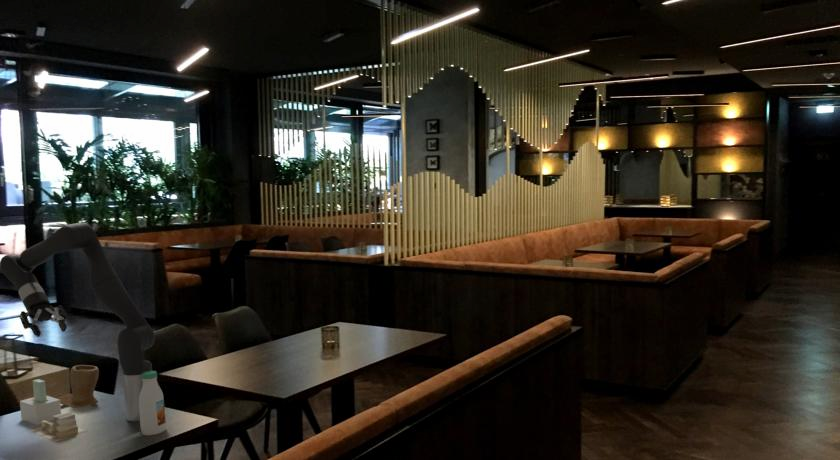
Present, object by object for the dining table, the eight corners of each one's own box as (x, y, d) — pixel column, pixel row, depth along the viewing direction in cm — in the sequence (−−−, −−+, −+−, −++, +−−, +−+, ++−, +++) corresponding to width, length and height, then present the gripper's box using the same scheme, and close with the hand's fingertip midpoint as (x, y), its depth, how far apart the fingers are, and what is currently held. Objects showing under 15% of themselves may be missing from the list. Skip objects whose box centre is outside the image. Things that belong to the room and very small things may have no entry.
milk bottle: (150, 437, 214) (146, 376, 213) (136, 433, 219) (131, 374, 217) (171, 429, 221) (166, 370, 220) (156, 426, 225) (152, 368, 224)
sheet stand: (21, 423, 234) (19, 400, 233) (45, 416, 240) (43, 394, 240) (37, 429, 227) (35, 406, 226) (61, 422, 233) (59, 399, 233)
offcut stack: (51, 434, 217) (50, 416, 217) (69, 428, 222) (67, 411, 221) (60, 437, 214) (59, 419, 213) (78, 432, 218) (76, 414, 218)
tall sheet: (35, 419, 234) (32, 380, 233) (41, 417, 236) (38, 379, 235) (42, 422, 231) (39, 382, 230) (48, 420, 233) (45, 381, 232)
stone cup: (107, 403, 253) (104, 364, 252) (76, 412, 243) (72, 372, 242) (86, 397, 261) (83, 359, 260) (55, 406, 252) (52, 367, 251)
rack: (30, 435, 222) (29, 422, 221) (60, 425, 230) (59, 412, 229) (56, 445, 211) (55, 431, 211) (87, 435, 219) (86, 422, 219)
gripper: (15, 294, 231) (33, 330, 225) (57, 288, 242) (75, 321, 236) (9, 308, 234) (27, 343, 228) (51, 301, 246) (69, 335, 240)
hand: (52, 332), depth 232 cm, fingers open, 8 cm apart
